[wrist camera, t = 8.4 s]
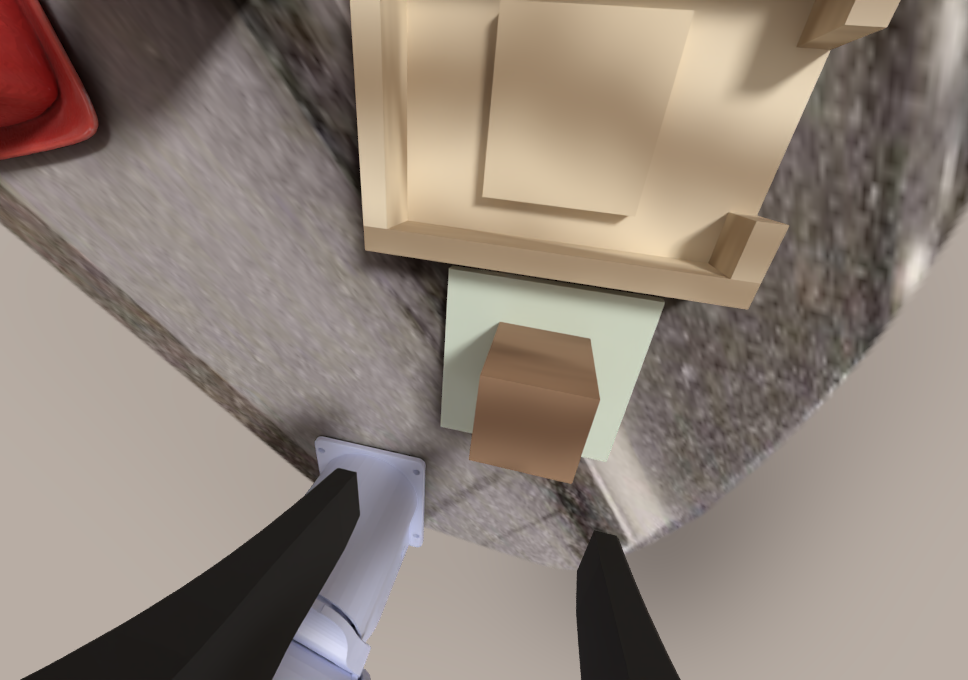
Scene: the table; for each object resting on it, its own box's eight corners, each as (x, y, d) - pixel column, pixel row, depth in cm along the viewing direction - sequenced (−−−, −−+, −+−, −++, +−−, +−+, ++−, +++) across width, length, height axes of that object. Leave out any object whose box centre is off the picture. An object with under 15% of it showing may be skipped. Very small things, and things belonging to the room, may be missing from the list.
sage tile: (605, 454, 21) (606, 462, 21) (443, 420, 22) (440, 426, 22) (661, 297, 16) (665, 302, 16) (452, 265, 18) (448, 268, 17)
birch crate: (716, 283, 16) (747, 309, 13) (394, 236, 17) (364, 250, 15) (869, -73, 10) (974, -150, 8) (387, -88, 12) (340, -154, 10)
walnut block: (569, 410, 19) (571, 483, 15) (488, 393, 20) (468, 459, 16) (590, 338, 17) (600, 399, 13) (499, 321, 18) (480, 375, 13)
